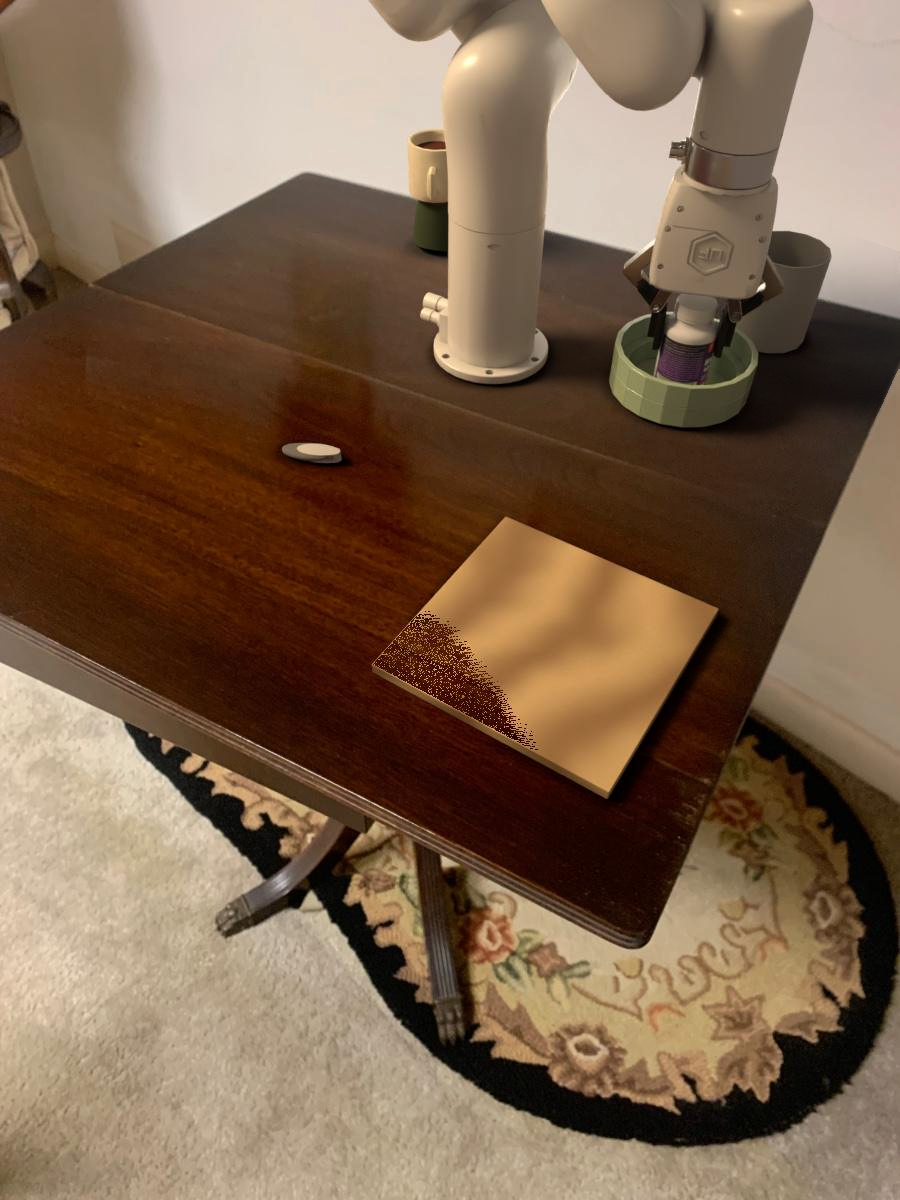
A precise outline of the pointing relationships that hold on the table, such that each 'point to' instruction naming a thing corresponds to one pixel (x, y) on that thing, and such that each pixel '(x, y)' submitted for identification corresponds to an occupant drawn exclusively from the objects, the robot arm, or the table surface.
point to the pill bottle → (688, 341)
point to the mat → (564, 649)
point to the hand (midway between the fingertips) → (687, 345)
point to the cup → (789, 293)
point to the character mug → (429, 188)
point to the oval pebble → (313, 452)
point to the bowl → (675, 399)
